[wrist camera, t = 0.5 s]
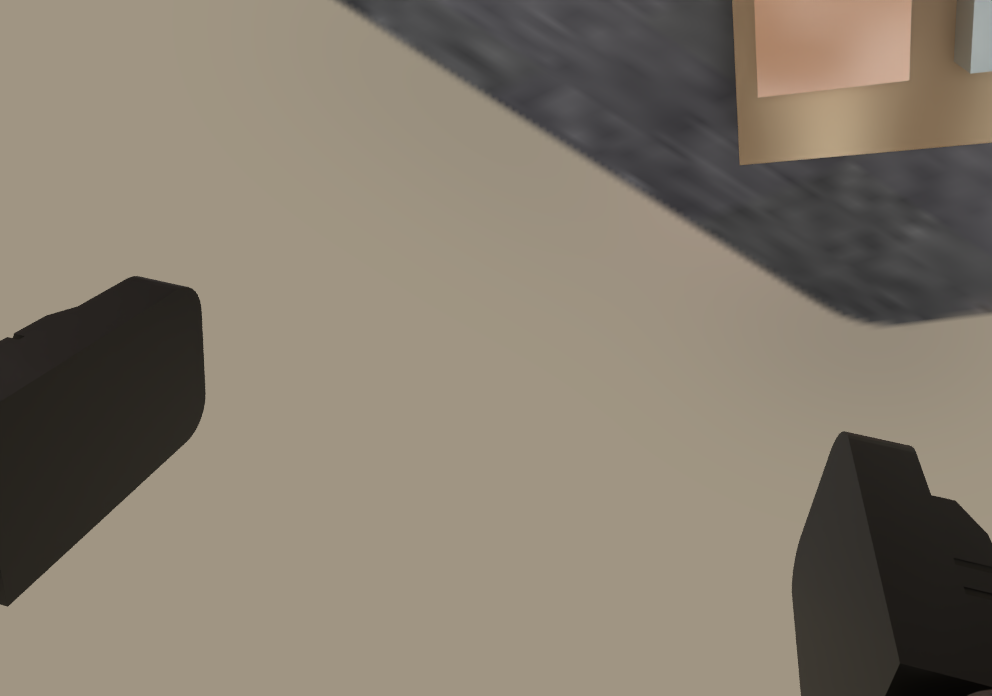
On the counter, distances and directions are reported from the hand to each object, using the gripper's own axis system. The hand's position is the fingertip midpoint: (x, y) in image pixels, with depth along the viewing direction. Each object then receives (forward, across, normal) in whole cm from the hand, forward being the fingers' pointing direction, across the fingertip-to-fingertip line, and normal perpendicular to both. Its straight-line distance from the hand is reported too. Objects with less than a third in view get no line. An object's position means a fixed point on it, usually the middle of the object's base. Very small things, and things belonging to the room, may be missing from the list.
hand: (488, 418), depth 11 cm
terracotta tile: (+20, -5, -4) cm, 21 cm away
